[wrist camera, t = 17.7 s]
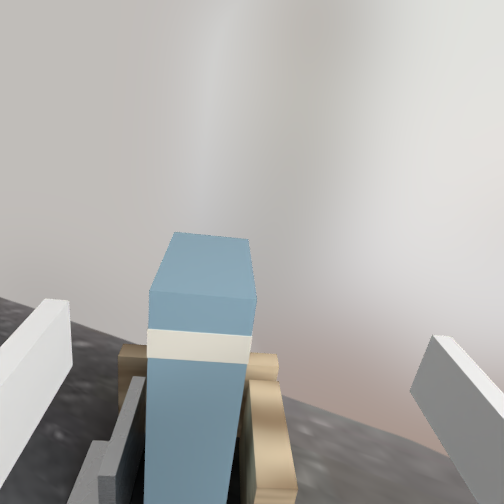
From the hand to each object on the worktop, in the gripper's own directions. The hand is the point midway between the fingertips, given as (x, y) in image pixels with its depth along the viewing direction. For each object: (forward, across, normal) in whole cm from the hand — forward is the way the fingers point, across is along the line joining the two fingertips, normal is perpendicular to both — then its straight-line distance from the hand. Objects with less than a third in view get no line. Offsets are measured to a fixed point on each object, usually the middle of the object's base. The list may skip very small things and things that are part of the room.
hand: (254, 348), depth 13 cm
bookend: (+12, -9, -26) cm, 30 cm away
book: (+12, -2, -26) cm, 29 cm away
